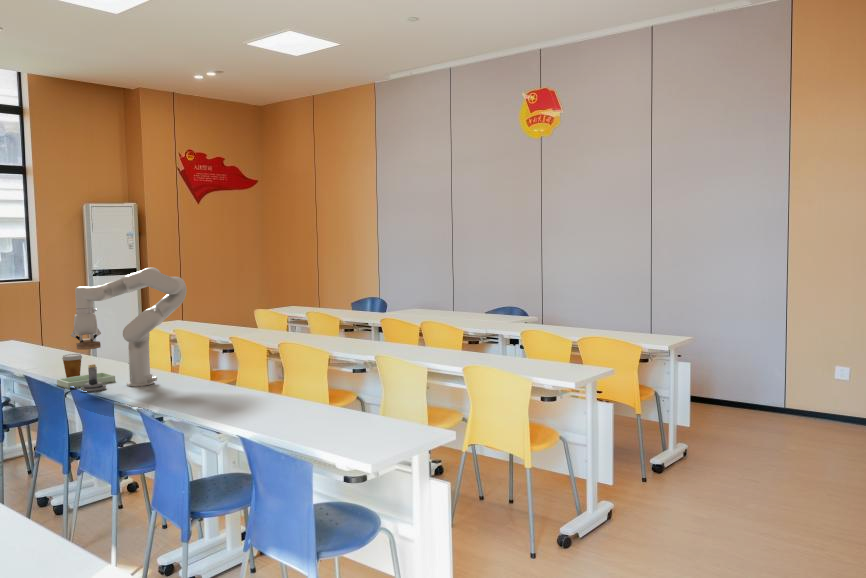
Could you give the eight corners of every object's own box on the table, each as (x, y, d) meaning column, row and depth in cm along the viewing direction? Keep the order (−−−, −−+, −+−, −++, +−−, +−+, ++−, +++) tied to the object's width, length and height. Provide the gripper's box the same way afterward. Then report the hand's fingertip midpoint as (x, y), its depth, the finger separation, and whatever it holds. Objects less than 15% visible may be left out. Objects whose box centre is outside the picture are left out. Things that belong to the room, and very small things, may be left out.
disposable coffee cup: (87, 375, 370) (85, 353, 369) (76, 379, 360) (74, 356, 359) (70, 375, 371) (69, 353, 370) (59, 379, 361) (57, 356, 360)
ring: (101, 348, 332) (101, 342, 332) (78, 350, 327) (77, 344, 327) (97, 343, 346) (96, 337, 346) (74, 345, 341) (74, 339, 341)
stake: (110, 389, 334) (108, 364, 333) (86, 393, 326) (84, 368, 325) (100, 386, 342) (99, 362, 341) (77, 390, 334) (75, 365, 333)
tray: (103, 378, 363) (103, 372, 362) (115, 381, 353) (115, 375, 353) (57, 385, 346) (56, 379, 346) (68, 389, 336) (68, 383, 336)
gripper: (102, 309, 347) (104, 346, 348) (65, 312, 338) (67, 349, 339) (104, 310, 340) (106, 347, 342) (66, 313, 332) (68, 351, 333)
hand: (86, 348), depth 341 cm, fingers closed on ring, 3 cm apart
